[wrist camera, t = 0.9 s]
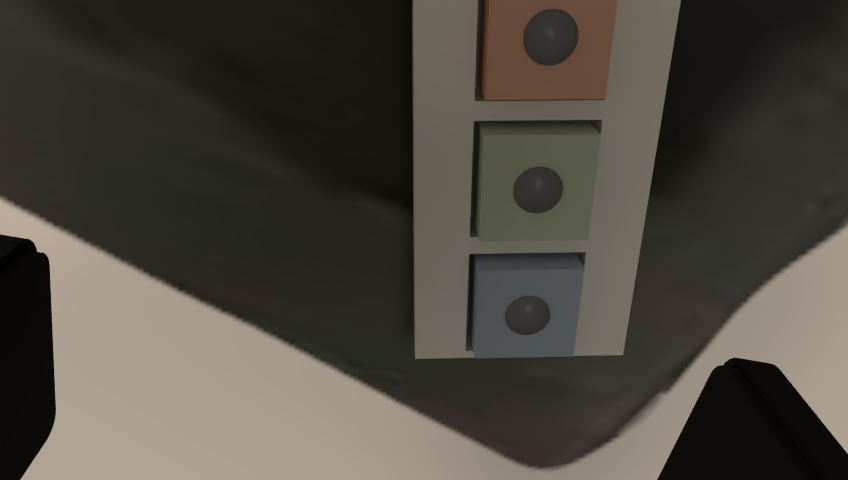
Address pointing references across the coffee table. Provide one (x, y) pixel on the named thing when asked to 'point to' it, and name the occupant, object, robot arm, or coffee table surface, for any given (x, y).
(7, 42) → the coffee table surface
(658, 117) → the keypad
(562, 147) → the sage key
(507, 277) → the slate blue key
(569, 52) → the terracotta key
